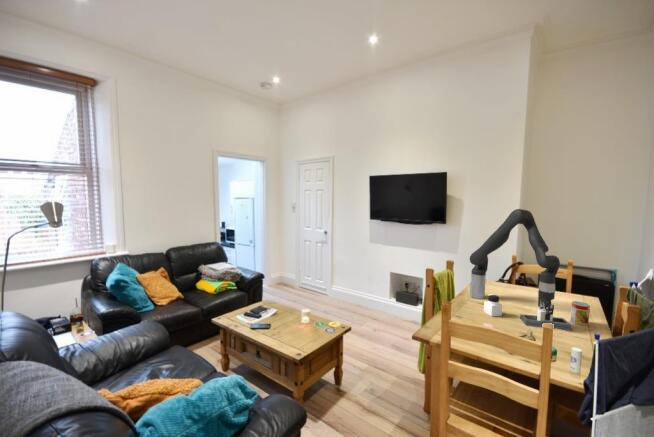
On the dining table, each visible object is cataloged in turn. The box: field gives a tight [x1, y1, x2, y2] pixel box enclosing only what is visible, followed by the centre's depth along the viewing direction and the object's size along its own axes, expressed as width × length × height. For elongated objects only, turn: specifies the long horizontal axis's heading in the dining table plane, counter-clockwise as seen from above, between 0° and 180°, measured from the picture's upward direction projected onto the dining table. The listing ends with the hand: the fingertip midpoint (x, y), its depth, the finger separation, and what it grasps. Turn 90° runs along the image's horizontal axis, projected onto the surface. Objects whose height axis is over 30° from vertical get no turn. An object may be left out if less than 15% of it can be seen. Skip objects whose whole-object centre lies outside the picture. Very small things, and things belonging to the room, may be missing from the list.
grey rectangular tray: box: [519, 313, 572, 331], centre depth 168 cm, size 22×10×3 cm, turn 75°
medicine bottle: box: [483, 293, 503, 317], centre depth 182 cm, size 7×7×12 cm
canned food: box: [570, 300, 591, 327], centre depth 168 cm, size 8×8×12 cm
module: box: [536, 308, 554, 322], centre depth 168 cm, size 6×4×8 cm, turn 75°
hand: (544, 317), depth 168 cm, fingers open, 6 cm apart
